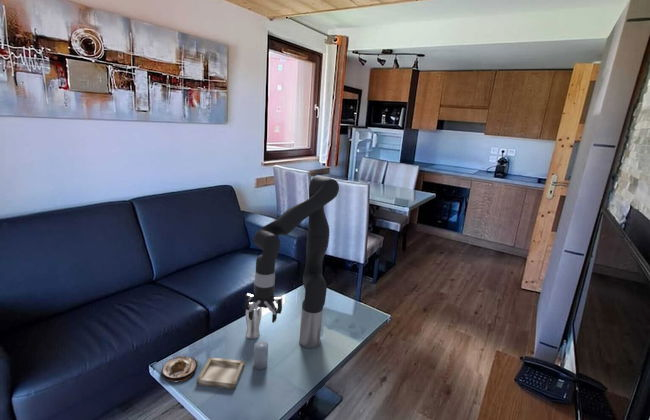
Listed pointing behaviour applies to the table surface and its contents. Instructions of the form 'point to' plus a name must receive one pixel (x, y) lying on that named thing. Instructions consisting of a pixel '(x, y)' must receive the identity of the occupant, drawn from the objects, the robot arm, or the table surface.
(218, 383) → the birch tray
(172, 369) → the stuffed round slice
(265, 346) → the grey rounded cylinder
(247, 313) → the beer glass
